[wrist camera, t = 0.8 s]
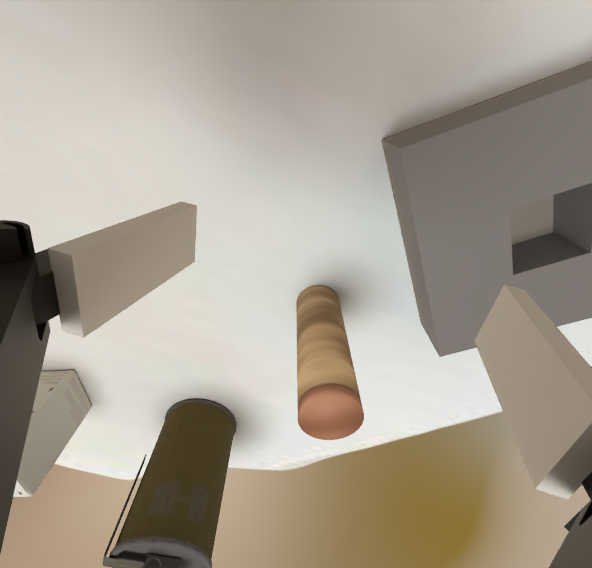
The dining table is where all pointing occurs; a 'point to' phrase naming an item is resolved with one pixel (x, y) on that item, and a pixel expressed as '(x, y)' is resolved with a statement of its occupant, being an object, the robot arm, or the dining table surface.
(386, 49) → the dining table surface
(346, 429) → the oak peg
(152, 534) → the canister
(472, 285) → the socket block
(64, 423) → the supplement box
